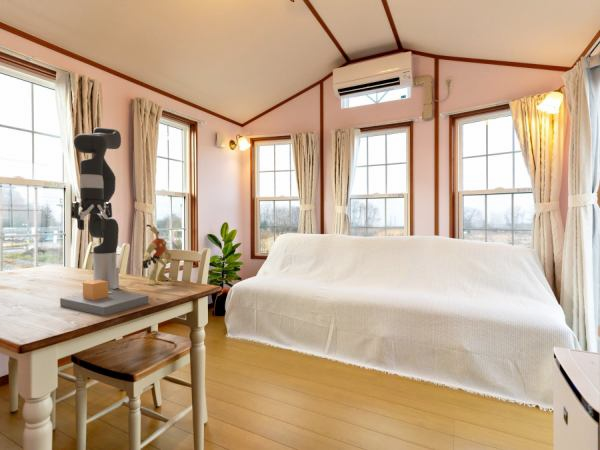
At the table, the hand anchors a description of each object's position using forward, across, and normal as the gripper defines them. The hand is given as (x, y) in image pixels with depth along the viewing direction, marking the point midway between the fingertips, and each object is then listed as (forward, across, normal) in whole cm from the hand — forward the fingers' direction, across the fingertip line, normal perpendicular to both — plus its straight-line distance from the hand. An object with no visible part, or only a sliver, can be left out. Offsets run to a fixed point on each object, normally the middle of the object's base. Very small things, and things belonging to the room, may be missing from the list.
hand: (92, 229), depth 124 cm
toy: (+30, -38, -10) cm, 49 cm away
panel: (+29, -2, +4) cm, 30 cm away
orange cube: (+26, 0, +1) cm, 26 cm away
